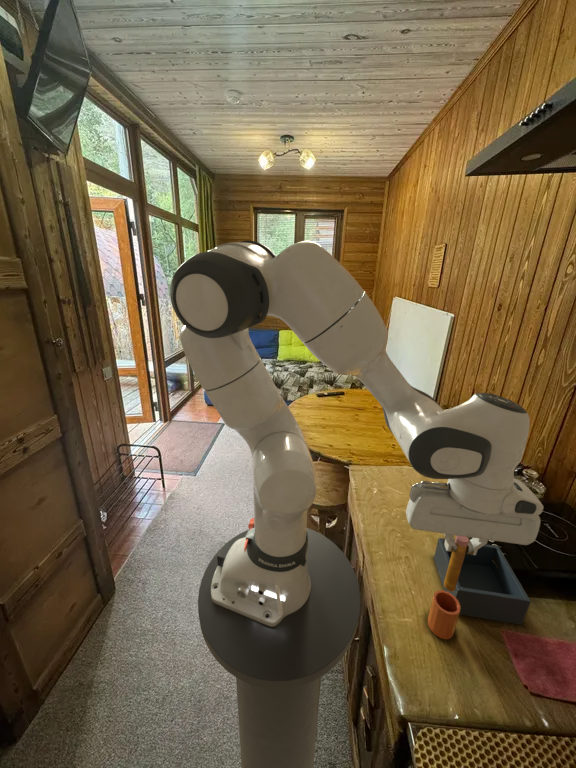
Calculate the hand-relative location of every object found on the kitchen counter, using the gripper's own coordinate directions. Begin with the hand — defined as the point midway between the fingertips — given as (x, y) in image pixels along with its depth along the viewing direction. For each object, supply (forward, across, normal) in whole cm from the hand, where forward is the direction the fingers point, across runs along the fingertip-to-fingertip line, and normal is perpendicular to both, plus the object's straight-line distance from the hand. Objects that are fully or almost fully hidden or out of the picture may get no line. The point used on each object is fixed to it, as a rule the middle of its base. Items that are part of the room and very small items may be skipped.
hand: (459, 550), depth 56 cm
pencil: (+9, 0, 0) cm, 9 cm away
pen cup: (+20, 0, 0) cm, 20 cm away
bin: (+20, +10, +10) cm, 25 cm away
